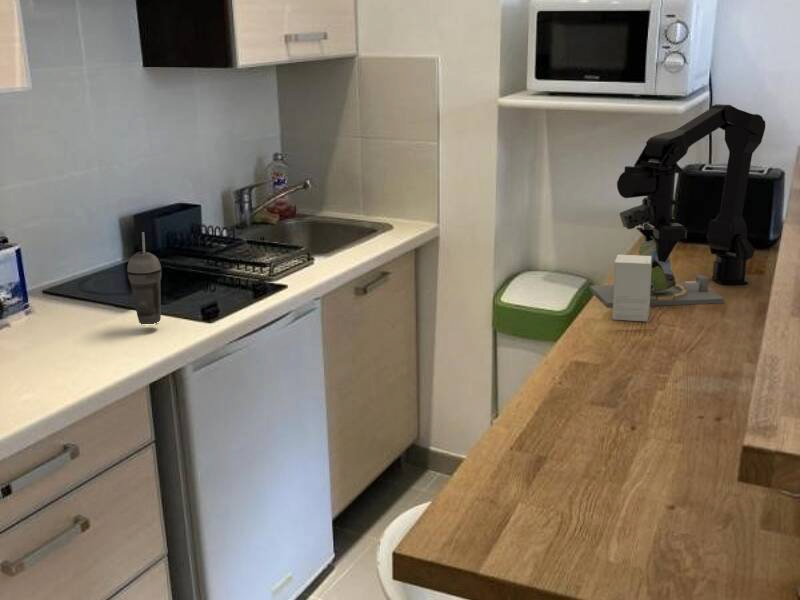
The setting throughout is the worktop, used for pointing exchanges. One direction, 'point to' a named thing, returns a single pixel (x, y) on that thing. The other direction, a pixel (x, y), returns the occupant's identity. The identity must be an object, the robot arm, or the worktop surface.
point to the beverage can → (658, 269)
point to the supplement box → (632, 287)
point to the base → (691, 298)
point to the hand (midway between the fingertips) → (656, 262)
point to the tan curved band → (686, 288)
